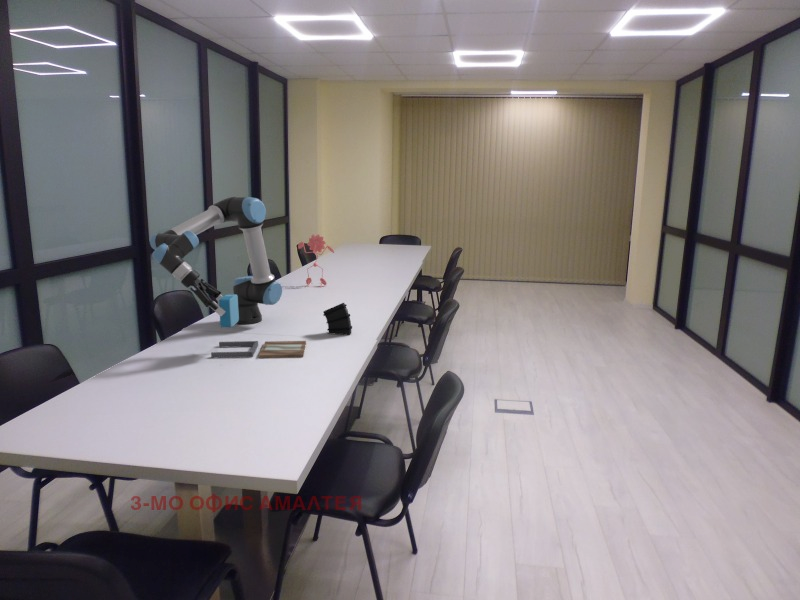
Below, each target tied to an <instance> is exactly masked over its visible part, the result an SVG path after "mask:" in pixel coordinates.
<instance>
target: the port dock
mask: <svg viewBox="0 0 800 600" xmlns="http://www.w3.org/2000/svg"><path fill="white" fill-rule="evenodd" d="M305 345H307V340H281V341H280V340H275V341H274V340H273V341H272V340H271V341H270V340H269V341H264V343H263V345H262V348H261V350H260V351H259V354H258V358H259V359H273V358H276V359H278V358H282V359H283V358H304V354H305V351H304V350H306V346H305Z"/></svg>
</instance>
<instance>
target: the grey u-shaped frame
mask: <svg viewBox="0 0 800 600" xmlns="http://www.w3.org/2000/svg"><path fill="white" fill-rule="evenodd" d="M219 346H241V347H251V348H250V350H249V351H211V353H210V357H211V358H214V357H219V358H253V357H254V356H255V353H256V351H257V349H258V347H259V340H249V341H247V340H244V341H243V340H242V341H241V340H240V341H236V340H235V341H219V342H218V347H219ZM214 359H215V358H214Z"/></svg>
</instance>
